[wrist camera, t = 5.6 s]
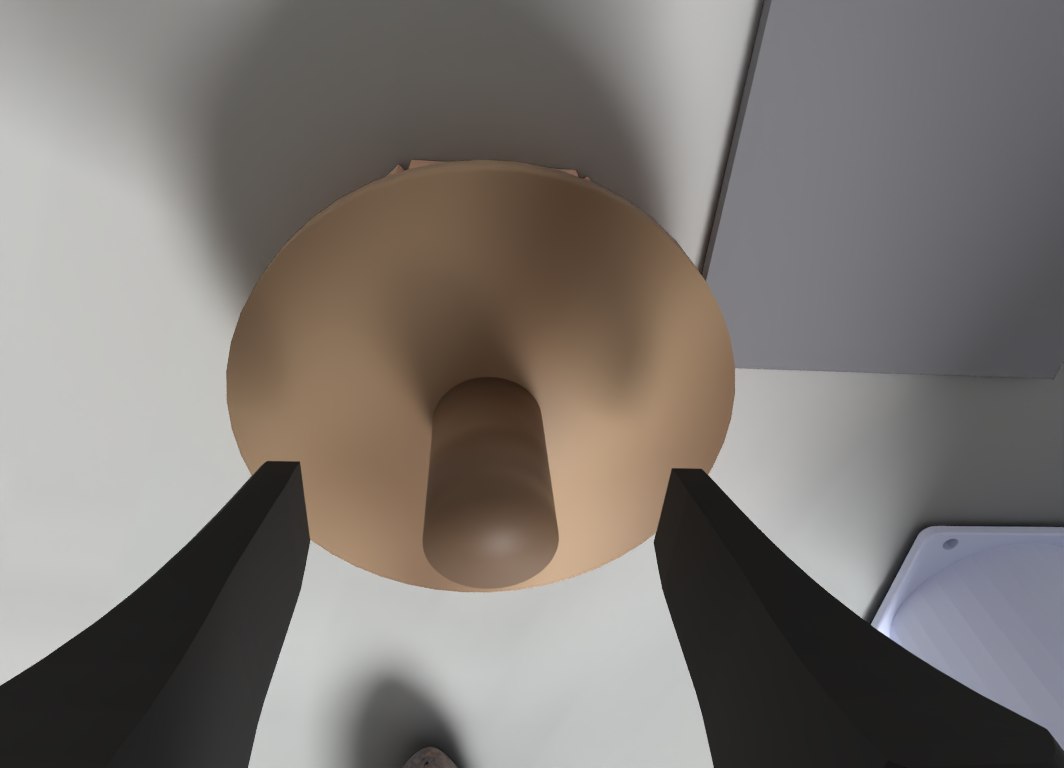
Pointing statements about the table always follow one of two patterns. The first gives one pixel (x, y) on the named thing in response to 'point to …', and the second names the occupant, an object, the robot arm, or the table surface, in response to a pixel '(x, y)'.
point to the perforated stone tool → (429, 759)
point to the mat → (897, 190)
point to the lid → (481, 374)
